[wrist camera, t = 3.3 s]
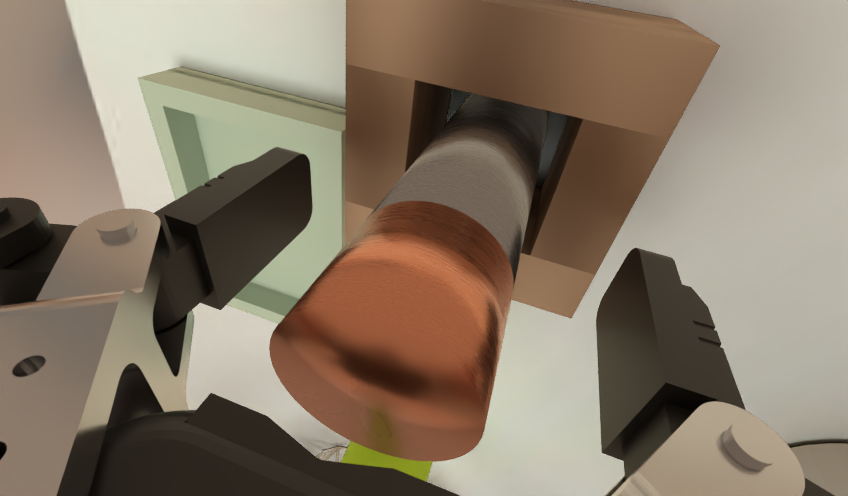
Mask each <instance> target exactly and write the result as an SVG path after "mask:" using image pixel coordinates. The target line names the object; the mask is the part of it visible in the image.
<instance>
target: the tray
mask: <svg viewBox="0 0 848 496" xmlns="http://www.w3.org/2000/svg"><path fill="white" fill-rule="evenodd" d="M138 81H139V84H140V87H141V91H142V94H143V97H144V100H145V103H146V107H147V110H148V113H149V116H150V120H151V123H152V126H153V129H154V132H155V136H156V139H157V142H158V145H159V148H160V152H161V155H162V158H163V161H164V164H165V168H166V171H167V174H168V177H169V180H170V184H171V187H172V190H173V193H174V196H175V200H177V199H179V198H180V197H182V196H184V195H185V194H187V193H189V192H190V191H192V190H194V189H196V188H197V187H199V186H201V185H202V186H204V185H205V183H206V182H207V181H209V180H211V179H213V178H214V177H215V178H217V177H218V175H219V174H221V173H223V172H224V171H226V170H228V169H230V168H231V167H233V166H236V165H239V164H242V163H246V162H249V161H253V160H255V159H256V158H258V157H259V156H261V155H263V154H264V153H266V152H268V151H269V150H271V149H273V148H275V147H280V148H284V149H287V150H291V151H295V152H298V153H302V154H305V155H306V156H307V157H308V159H309V161H310V170H311V187H312V205H313V209H312V215H311V218H310V221H309V223H308V225H307V226H306V228H305V229H304V230H303V231H302V232H301V233H300V234H299V235H298V236H297V237H296V238H295V239H294V240H293V241H292V242H291V243H290V244H289V245H288V246H286V247H285V248H284V249H283V250H282V251H281V252H280V253H279V254H278V255H277V256H276V257H275V258H274V259H273V260H272V261H271V262H270V263H269V264H268V265H267V266H266V267H265V268H264V269H263V270H262V271H261V272H260V273H259V274H258V275H256V276H255V277H254V278H253V279H252V280H251V281H250V282H249V283H248V284H247V285H246V286H245V287H244V288H243V289H242V290H241V291H240V292H239V293H238V294H237V295H236V296H235V297H234V298H233V299H232V300H231V301H230V302H229V303H228V304H227V305H229V306H231V307H234V308H237V309H239V310H242V311H245V312H248V313H250V314H253V315H256V316H259V317H261V318H264V319H267V320H270V321H272V322H275V323H278V324H279V323H280V322H281V321H282V320H283V318H284V317H285V316H286V315H287V314H288V312H289V311H290V310H291V309H292V308H293V306H294V305H295V304H296V303H297V302H298V300H299V299H300V298H301V297H302V296H303V294H304V293H305V292H306V291H307V290H308V288H309V287H310V286H311V285H312V284H313V282H314V281H315V280H316V279H317V278H318V277H319V275H320V274H321V273H322V272H323V271H324V269H325V268H326V267H327V266H328V265H329V263H330V262H331V261H332V260H333V259H334V257H335V256H336V255H337V254H338V253H339V251H340V250H341V249H342V248H343V247H344V245H345V146H346V109H345V108H341V107H337V106H333V105H329V104H325V103H321V102H317V101H313V100H309V99H305V98H301V97H297V96H293V95H289V94H285V93H281V92H277V91H273V90H269V89H265V88H262V87H258V86H254V85H250V84H246V83H242V82H238V81H234V80H230V79H226V78H222V77H218V76H214V75H210V74H206V73H202V72H198V71H194V70H190V69H186V68H183V67H178V68H174V69H170V70H166V71H162V72H159V73H155V74H151V75H147V76H143V77H139V78H138Z"/></svg>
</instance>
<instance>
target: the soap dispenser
mask: <svg viewBox="0 0 848 496" xmlns="http://www.w3.org/2000/svg"><path fill="white" fill-rule="evenodd" d="M432 462H433V461H414V460H408V459H402V458H398V457H394V456H389V455H386V454H383V453H380V452H377V451H374V450H372V449H369V448H366V447H364V446H362V445H359V444H357V443H355V442H353V441H351V442H350V444H349V446H348V448H347V450H346V452H345V454H344V457H343V459H342V461H341V463H350V464H358V465H367V466H376V467H385V468H394V469H396V470H399V471H401V472H404V473H406V474H408V475H411V476H413V477H416V478H418V479H421V480H423V481H425V482H427V479H428V475H429V472H430V469H431V465H432Z"/></svg>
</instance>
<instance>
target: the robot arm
mask: <svg viewBox="0 0 848 496" xmlns="http://www.w3.org/2000/svg"><path fill="white" fill-rule="evenodd" d="M312 209H313V205H312V187H311V170H310V161H309V159H308V157H307V156H306V155H305V154H302V153H298V152H295V151H291V150H287V149H284V148H280V147H275V148H273V149H271V150H269V151H268V152H266V153H264V154H263V155H261V156H259V157H258V158H256V159H255V160H253V161H249V162H246V163H242V164H239V165H236V166H233V167H231V168H230V169H228V170H226V171H224V172H223V173H221V174H219V175H218V177H217V178H215V177H214V178H213V179H211V180H209V181H207V182H206V183H205V185H204V186H202V185H201V186H199V187H197V188H196V189H194V190H192V191H190V192H189V193H187V194H185V195H184V196H182V197H180V198H179V199H177V200H175V201H173V202H172V203H170V204H168V205H167V206H165V207H163V208H162V209H160V210H158V211H156V212H155V213H152V212H150V211H146V210H141V209H120V210H114V211H109V212H105V213H102V214H99V215H96V216H94V217H91V218H89V219H87V220H86V221H84V222H83V223H81V224H79V225H78V226H72V225H59V224H49V223H48V221H47V219H46V218H45V216H44V214H43V212H42V211H41V209H40V207H39V205H38V204H37V203H35V202H34V201H31V200H29V199H24V198H0V496H459V495H457V494H455V493H452V492H450V491H447V490H445V489H442V488H440V487H438V486H435V485H433V484H430V483H428V482H425V481H423V480H421V479H418V478H416V477H413V476H411V475H408V474H406V473H404V472H401V471H399V470H396V469H394V468H385V467H376V466H367V465H358V464H350V463H341V462H332V461H325V460H321V459H319V458H317V457H315V456H314V455H312V454H311V453H310V452H309V451H308V450H307V449H305V448H304V447H303V446H302V445H301V444H299V443H298V442H297V441H296V440H295V439H294V438H292V437H291V436H290V435H289V434H288V433H286V432H285V431H284V430H283V429H282V428H281V427H279V426H278V425H277V424H276V423H275V422H273V421H272V420H271V419H270V418H269V417H267V416H265V415H263V414H261V413H258V412H256V411H253V410H251V409H248V408H246V407H244V406H241V405H239V404H236V403H234V402H232V401H229V400H227V399H224V398H222V397H219V396H217V395H215V394H212V393H211V394H210V395H209V396H208V397H207V398H206V399H205V401H204V402H203V403H202V404H201V405H200V406H199V408H198V409H197V410H188V404H187V398H186V382H187V374H188V366H189V358H190V350H191V342H192V334H193V326H194V314H193V311H192V309H193V308H194V307H195V306H197V305H198V304H199V303H203V304H205V305H208V306H211V307H214V308H216V309H219V310H221V309H222V308H223V307H224V306H225V305H227V304H228V303H229V302H230V301H231V300H232V299H233V298H234V297H235V296H236V295H237V294H238V293H239V292H240V291H241V290H242V289H243V288H244V287H245V286H246V285H247V284H248V283H249V282H250V281H251V280H252V279H253V278H254V277H255V276H256V275H258V274H259V273H260V272H261V271H262V270H263V269H264V268H265V267H266V266H267V265H268V264H269V263H270V262H271V261H272V260H273V259H274V258H275V257H276V256H277V255H278V254H279V253H280V252H281V251H282V250H283V249H284V248H285V247H286V246H288V245H289V244H290V243H291V242H292V241H293V240H294V239H295V238H296V237H297V236H298V235H299V234H300V233H301V232H302V231H303V230H304V229H305V228H306V226H307V225H308V223H309V221H310V218H311V215H312ZM596 327H597V351H598V374H599V398H600V421H601V445H602V453H604V454H607V455H609V456H612V457H615V458H617V459H620V460H623V461H624V470H625V476H624V477H623V478H622V479H620V480H619V481H618V482H617V483H616V484H615V485H614V486H613V487H612V488H611V489H610V491H609V492H608V493H607V494H606V495H605V496H848V444H844V443H827V444H813V445H804V446H798V447H792V448H790V447H789V446H788V445H787V444H786V443H785V441H784V440H783V439H782V438H781V437H780V436H779V435H778V434H777V433H776V432H775V431H774V430H773V429H772V428H771V427H769V426H768V425H767V424H766V423H765V422H763V421H762V420H760V419H759V418H758V417H756V416H754V415H753V414H751V413H749V412H748V411H746V410H745V407H744V404H743V402H742V399H741V396H740V393H739V391H738V388H737V385H736V382H735V380H734V377H733V374H732V372H731V369H730V366H729V363H728V361H727V358H726V355H725V353H724V350H723V348H721V347H720V345H721V342H720V339H719V336H718V333H717V331H715V330H714V328H715V325H714V323H713V320H712V317H711V314H710V312H709V309H708V307H707V306H706V304H705V303H704V302H703V301H702V300H701V298H700V297H699V296H698V295H697V294H696V292H695V291H694V290H693V289H692V288H691V287H688V286H685V285H682V284H681V281H680V277H679V274H678V271H677V268H676V265H675V262H674V260H673V259H672V258H670V257H667V256H663V255H660V254H656V253H653V252H649V251H645V250H642V249H638V248H634V249H633V250H631V251H630V253H629V254H628V255H627V257H626V259H625V260H624V262H623V264H622V265H621V267H620V269H619V270H618V272H617V274H616V275H615V277H614V279H613V281H612V282H611V284H610V286H609V287H608V289H607V291H606V292H605V294H604V296H603V298H602V300H601V302H600V305H599V308H598V312H597V319H596Z"/></svg>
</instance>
